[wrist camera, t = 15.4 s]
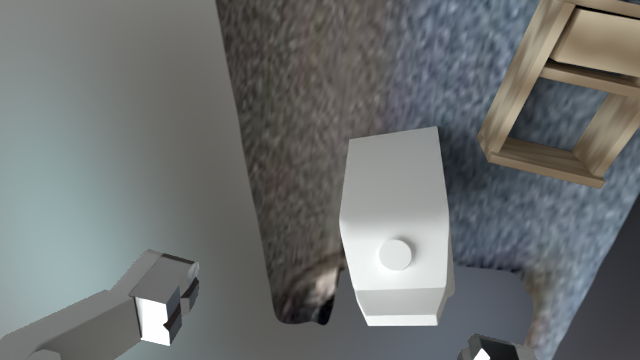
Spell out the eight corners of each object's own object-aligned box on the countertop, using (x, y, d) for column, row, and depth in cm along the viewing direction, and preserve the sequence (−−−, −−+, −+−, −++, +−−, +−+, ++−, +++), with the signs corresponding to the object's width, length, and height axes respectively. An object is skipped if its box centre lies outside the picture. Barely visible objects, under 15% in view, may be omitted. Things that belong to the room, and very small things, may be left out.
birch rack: (547, -14, 37) (575, -9, 32) (672, 12, 37) (725, 22, 31) (476, 136, 47) (488, 162, 41) (574, 159, 47) (600, 188, 41)
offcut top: (572, 7, 35) (581, 9, 34) (666, 24, 35) (680, 28, 33) (548, 56, 38) (555, 61, 36) (635, 73, 37) (646, 78, 36)
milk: (364, 204, 56) (345, 359, 35) (349, 139, 51) (317, 275, 29) (443, 196, 53) (478, 362, 31) (437, 126, 48) (474, 267, 26)
